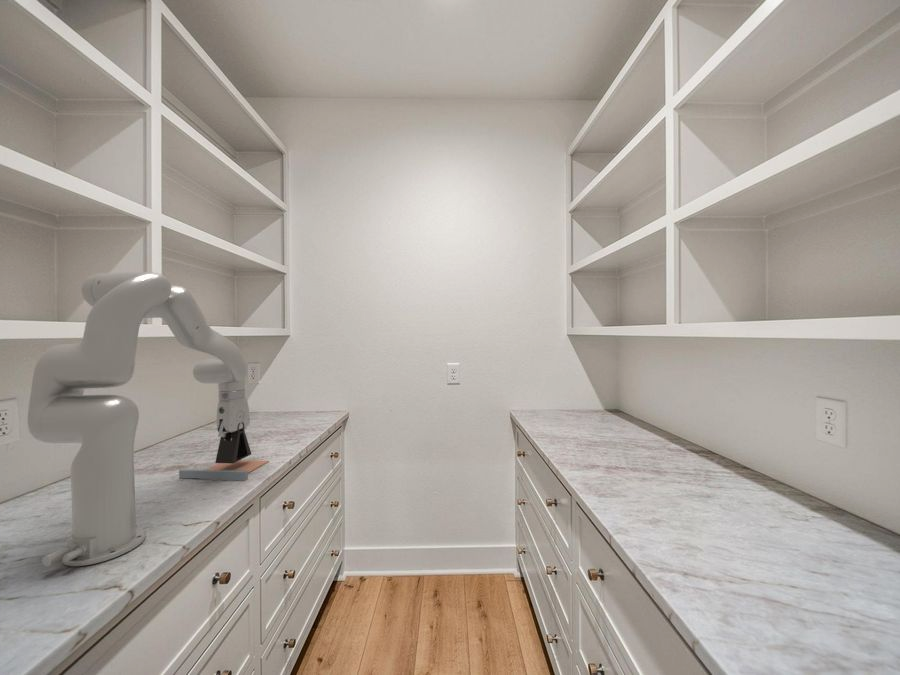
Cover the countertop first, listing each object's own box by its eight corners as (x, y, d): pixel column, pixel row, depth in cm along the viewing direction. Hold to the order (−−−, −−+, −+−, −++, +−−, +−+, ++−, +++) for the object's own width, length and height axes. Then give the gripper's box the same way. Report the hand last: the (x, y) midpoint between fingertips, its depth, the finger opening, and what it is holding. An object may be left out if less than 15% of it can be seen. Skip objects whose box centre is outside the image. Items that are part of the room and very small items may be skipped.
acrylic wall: (245, 480, 111) (244, 472, 111) (179, 478, 114) (179, 470, 114) (247, 479, 112) (247, 471, 112) (182, 476, 115) (182, 468, 115)
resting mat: (243, 476, 114) (242, 475, 114) (196, 474, 116) (196, 473, 116) (268, 461, 127) (268, 460, 127) (226, 460, 129) (226, 459, 129)
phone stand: (232, 463, 117) (231, 425, 117) (215, 463, 118) (214, 425, 118) (251, 454, 126) (250, 419, 126) (235, 454, 127) (234, 419, 127)
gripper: (225, 399, 113) (226, 459, 114) (258, 391, 129) (259, 444, 129) (202, 399, 114) (204, 459, 115) (238, 391, 130) (239, 443, 130)
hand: (233, 450), depth 122 cm, fingers closed on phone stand, 1 cm apart
